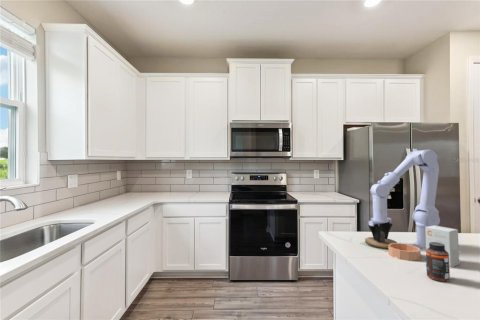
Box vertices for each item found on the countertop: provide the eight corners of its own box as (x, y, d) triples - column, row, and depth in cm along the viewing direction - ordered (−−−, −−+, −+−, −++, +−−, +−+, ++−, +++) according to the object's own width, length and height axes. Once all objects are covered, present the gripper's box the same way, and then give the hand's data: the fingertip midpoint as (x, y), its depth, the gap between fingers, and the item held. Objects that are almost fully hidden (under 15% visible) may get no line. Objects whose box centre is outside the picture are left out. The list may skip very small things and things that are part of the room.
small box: (459, 264, 92) (458, 229, 92) (450, 267, 89) (449, 231, 89) (434, 257, 99) (433, 224, 99) (425, 260, 96) (424, 226, 96)
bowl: (397, 250, 108) (397, 241, 108) (425, 258, 98) (425, 248, 98) (383, 255, 102) (382, 245, 102) (411, 264, 93) (411, 253, 93)
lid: (375, 239, 122) (375, 227, 123) (403, 246, 111) (403, 233, 111) (359, 243, 116) (358, 231, 116) (387, 251, 105) (386, 237, 105)
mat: (375, 240, 122) (375, 239, 122) (403, 247, 111) (403, 246, 111) (359, 244, 116) (359, 243, 116) (387, 252, 105) (386, 251, 105)
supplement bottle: (454, 283, 77) (453, 246, 78) (432, 281, 79) (431, 245, 79) (442, 274, 83) (441, 241, 84) (422, 273, 84) (421, 240, 85)
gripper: (380, 207, 121) (381, 235, 121) (362, 210, 114) (362, 239, 114) (395, 209, 115) (396, 238, 115) (377, 212, 108) (377, 243, 107)
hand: (380, 239), depth 114 cm, fingers open, 6 cm apart
